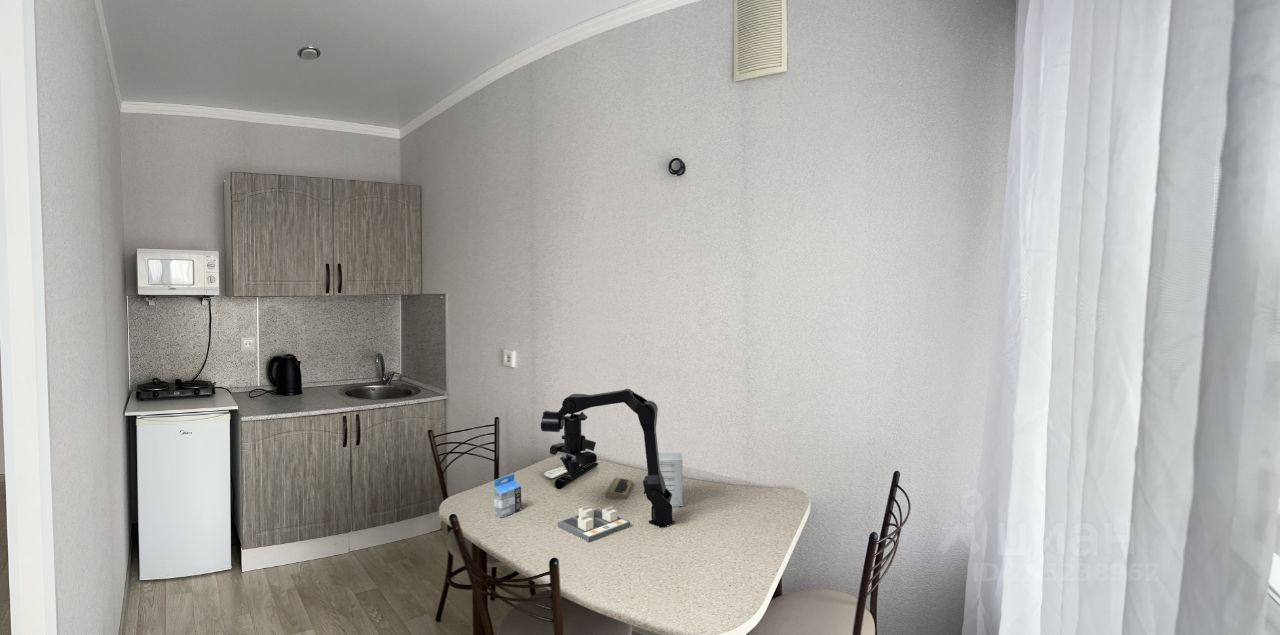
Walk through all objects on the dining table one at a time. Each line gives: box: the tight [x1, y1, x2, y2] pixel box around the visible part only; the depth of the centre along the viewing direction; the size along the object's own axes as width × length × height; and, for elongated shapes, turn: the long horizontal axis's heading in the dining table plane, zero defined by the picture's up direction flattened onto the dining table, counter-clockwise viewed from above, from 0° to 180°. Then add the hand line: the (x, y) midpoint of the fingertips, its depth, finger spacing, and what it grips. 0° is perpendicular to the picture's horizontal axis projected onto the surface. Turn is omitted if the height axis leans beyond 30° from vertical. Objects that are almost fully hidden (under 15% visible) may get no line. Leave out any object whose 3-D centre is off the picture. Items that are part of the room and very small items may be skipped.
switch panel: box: [557, 508, 631, 543], centre depth 189 cm, size 16×17×2 cm
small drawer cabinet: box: [658, 452, 684, 507], centre depth 210 cm, size 10×9×17 cm
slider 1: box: [578, 514, 593, 531], centre depth 184 cm, size 4×3×4 cm
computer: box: [605, 477, 634, 500], centre depth 222 cm, size 16×8×3 cm, turn 172°
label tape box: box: [493, 473, 523, 519], centre depth 200 cm, size 9×4×12 cm, turn 143°
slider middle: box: [578, 504, 595, 519], centre depth 192 cm, size 4×3×4 cm
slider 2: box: [601, 506, 618, 522], centre depth 191 cm, size 4×3×4 cm
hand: (572, 478), depth 196 cm, fingers closed
